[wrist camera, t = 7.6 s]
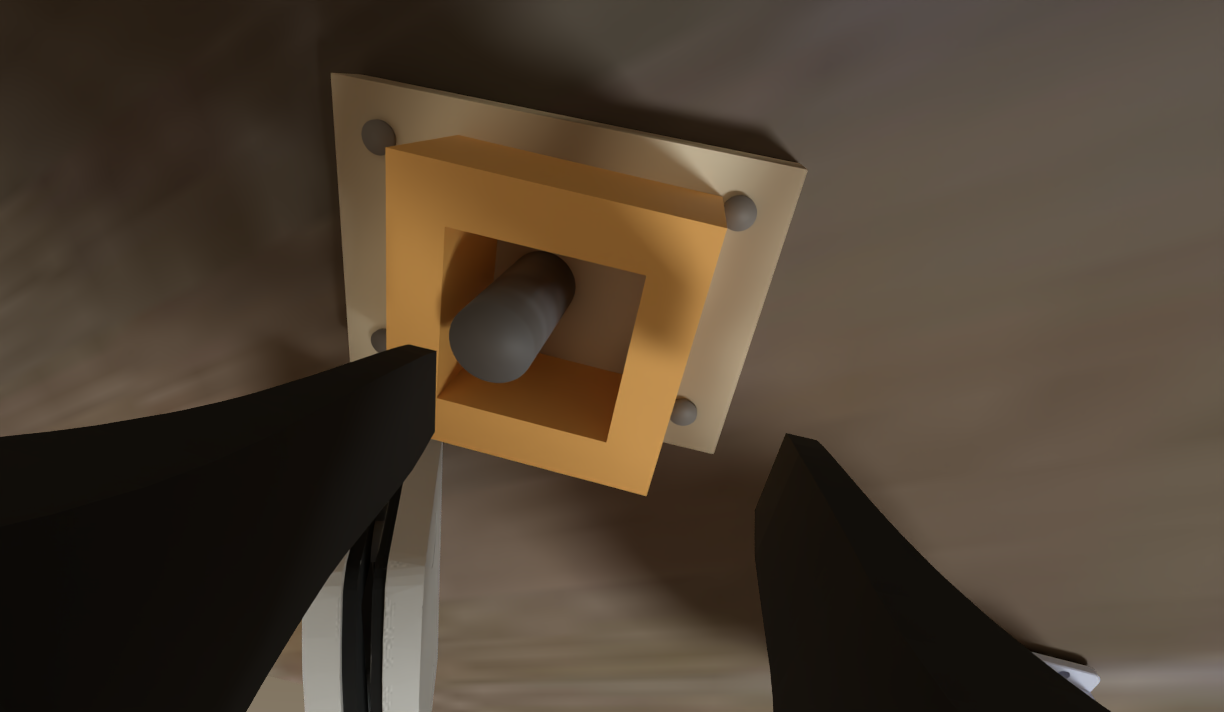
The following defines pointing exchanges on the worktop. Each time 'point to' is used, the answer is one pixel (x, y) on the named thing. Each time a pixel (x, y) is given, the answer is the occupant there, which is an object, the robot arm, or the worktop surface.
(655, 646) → the worktop surface
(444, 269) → the orange square frame
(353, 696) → the grey napkin holder
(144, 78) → the worktop surface
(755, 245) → the keeper board
